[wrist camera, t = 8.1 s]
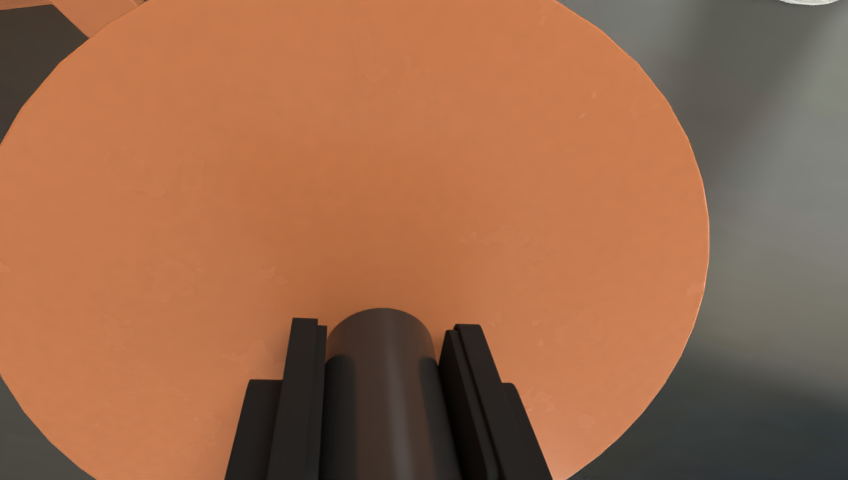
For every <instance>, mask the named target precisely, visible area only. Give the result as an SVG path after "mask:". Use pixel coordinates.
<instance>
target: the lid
mask: <svg viewBox="0 0 848 480" xmlns="http://www.w3.org/2000/svg"><path fill="white" fill-rule="evenodd" d="M708 263H709V215H708V209H707V203H706V197H705V191H704V185H703V180H702V177H701V174H700V171H699V168H698V165H697V162H696V159H695V156H694V153H693V150H692V147H691V145H690V142H689V139H688V138H687V136H686V134H685V132H684V130H683V128H682V126H681V125H680V123H679V121H678V119H677V117H676V115H675V114H674V112H673V110H672V108H671V106H670V104H669V103H668V101H667V100H666V98H665V97H664V96H663V94H662V93H661V92H660V91H659V89H658V88H657V87H656V86H655V84H654V83H653V82H652V81H651V79H650V78H649V77H648V75H647V74H646V73H645V72H644V70H643V69H642V68H641V67H640V65H639V64H638V63H637V62H636V61H635V60H634V59H633V58H632V57H630V56H629V55H628V54H627V53H626V52H625V51H624V50H623V49H622V48H621V47H619V46H618V45H617V44H616V43H615V42H614V41H613V40H612V39H611V38H609V37H608V36H607V35H606V34H605V33H604V32H603V31H602V30H601V29H599V28H598V27H597V26H595V25H593V24H592V23H590V22H589V21H587V20H586V19H584V18H583V17H581V16H579V15H578V14H576V13H575V12H573V11H572V10H570V9H569V8H567V7H565V6H564V5H562V4H561V3H559V2H558V1H556V0H148V1H146V2H144V3H142V4H141V5H139V6H137V7H135V8H134V9H132V10H130V11H128V12H127V13H125V14H123V15H121V16H120V17H118V18H116V19H114V20H113V21H111V22H109V23H107V24H106V25H105V26H104V27H103V28H101V29H100V30H99V31H98V32H96V33H95V34H94V35H93V36H92V37H90V38H89V39H88V40H87V41H85V42H84V43H83V44H82V45H81V46H79V47H78V48H77V49H76V50H75V51H73V52H72V53H71V54H70V55H68V56H67V57H66V58H65V59H64V60H62V61H61V62H60V63H59V64H58V65H57V66H56V67H55V69H54V70H53V71H52V72H51V73H50V75H49V76H48V77H47V78H46V79H45V80H44V82H43V83H42V84H41V85H40V86H39V87H38V89H37V90H36V91H35V92H34V93H33V94H32V96H31V97H30V98H29V99H28V100H27V102H26V103H25V104H24V105H23V106H22V107H21V109H20V111H19V113H18V114H17V116H16V118H15V120H14V121H13V123H12V125H11V127H10V128H9V130H8V132H7V134H6V135H5V137H4V139H3V141H2V142H1V144H0V375H1V377H2V379H3V380H4V382H5V383H6V385H7V386H8V388H9V389H10V391H11V393H12V394H13V396H14V397H15V399H16V400H17V402H18V403H19V405H20V406H21V408H22V410H23V411H24V412H25V414H26V415H27V416H28V417H29V418H30V419H31V420H32V422H33V423H34V424H35V425H36V426H37V427H38V428H39V430H40V431H41V432H42V433H43V434H44V435H45V436H46V438H47V439H48V440H49V441H50V442H51V443H52V444H53V445H54V446H55V447H57V448H58V449H59V450H60V451H61V452H62V453H63V454H65V455H66V456H67V457H68V458H69V459H70V460H71V461H72V462H74V463H75V464H76V465H77V466H78V467H79V468H81V469H82V470H83V471H85V472H86V473H88V474H89V475H91V476H92V477H94V478H95V479H96V480H224V478H225V474H226V470H227V466H228V462H229V458H230V454H231V450H232V446H233V442H234V438H235V434H236V430H237V425H238V421H239V417H240V413H241V409H242V405H243V401H244V397H245V393H246V389H247V385H248V382H249V380H250V379H274V380H283V373H284V367H285V361H286V355H287V349H288V343H289V337H290V330H291V324H292V319H293V318H318V325H327V342H326V358H325V374H324V391H323V407H322V423H321V440H320V456H319V472H318V480H463V477H462V472H461V468H460V463H459V459H458V454H457V450H456V445H455V441H454V436H453V432H452V427H451V423H450V418H449V414H448V409H447V405H446V401H445V396H444V392H443V387H442V383H441V378H440V374H439V369H438V363H439V359H440V354H441V350H442V345H443V340H444V336H445V332H446V330H453V328H454V325H455V324H479V325H480V326H481V327H482V330H483V333H484V335H485V338H486V341H487V343H488V346H489V349H490V352H491V354H492V357H493V360H494V362H495V365H496V368H497V371H498V373H499V376H500V379H501V381H502V383H513V384H514V385H515V387H516V389H517V390H518V393H519V395H520V398H521V400H522V403H523V405H524V408H525V410H526V413H527V415H528V418H529V420H530V423H531V425H532V428H533V430H534V433H535V435H536V438H537V441H538V443H539V446H540V448H541V451H542V453H543V456H544V458H545V461H546V463H547V466H548V468H549V471H550V473H551V476H552V478H553V480H566V479H567V478H569V477H571V476H572V475H573V474H575V473H576V472H577V471H579V470H580V469H582V468H583V467H584V466H586V465H587V464H588V463H590V462H591V461H592V460H594V459H595V458H596V457H598V456H599V455H600V454H601V453H602V452H603V451H604V450H606V449H607V448H608V447H609V446H610V445H611V444H612V443H614V442H615V441H616V440H617V439H618V438H619V437H620V436H621V435H622V434H623V433H624V432H625V431H626V430H627V429H628V428H629V427H630V426H631V425H632V424H633V423H634V421H635V420H636V419H637V418H638V417H639V416H640V415H641V414H642V413H643V412H644V410H645V409H646V408H647V406H648V405H649V404H650V403H651V401H652V400H653V399H654V397H655V396H656V395H657V393H658V392H659V391H660V389H661V388H662V387H663V385H664V384H665V382H666V380H667V379H668V377H669V375H670V374H671V372H672V370H673V369H674V367H675V365H676V364H677V362H678V360H679V359H680V357H681V354H682V352H683V350H684V348H685V345H686V343H687V341H688V339H689V336H690V334H691V332H692V330H693V327H694V325H695V322H696V318H697V315H698V311H699V308H700V305H701V301H702V298H703V294H704V290H705V283H706V276H707V269H708Z"/></svg>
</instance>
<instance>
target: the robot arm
mask: <svg viewBox="0 0 848 480" xmlns="http://www.w3.org/2000/svg"><path fill="white" fill-rule="evenodd" d="M780 1H784V2H787V3H790V4H803V5H821V4H829V3H832V2H835V1H839V0H780ZM326 342H327V325H318V318H293V319H292V324H291V330H290V337H289V343H288V349H287V355H286V361H285V367H284V373H283V380H274V379H250V380H249V382H248V385H247V389H246V393H245V397H244V401H243V405H242V409H241V413H240V417H239V421H238V425H237V430H236V434H235V438H234V442H233V446H232V450H231V454H230V458H229V462H228V466H227V470H226V474H225V478H224V480H318V472H319V456H320V440H321V423H322V407H323V391H324V374H325V358H326ZM438 369H439V374H440V378H441V383H442V387H443V392H444V396H445V401H446V405H447V409H448V414H449V418H450V423H451V427H452V432H453V436H454V441H455V445H456V450H457V454H458V459H459V463H460V468H461V472H462V477H463V480H553V478H552V476H551V473H550V471H549V468H548V466H547V463H546V461H545V458H544V456H543V453H542V451H541V448H540V446H539V443H538V441H537V438H536V435H535V433H534V430H533V428H532V425H531V423H530V420H529V418H528V415H527V413H526V410H525V408H524V405H523V403H522V400H521V398H520V395H519V393H518V390H517V389H516V387H515V385H514V384H513V383H502V381H501V379H500V376H499V373H498V371H497V368H496V365H495V362H494V360H493V357H492V354H491V352H490V349H489V346H488V343H487V341H486V338H485V335H484V333H483V330H482V327H481V326H480V325H479V324H455V325H454V328H453V330H446V332H445V336H444V340H443V345H442V350H441V354H440V359H439V363H438Z"/></svg>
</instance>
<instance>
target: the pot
mask: <svg viewBox="0 0 848 480" xmlns="http://www.w3.org/2000/svg"><path fill="white" fill-rule="evenodd" d="M142 3H144V1H143V0H0V10H5V9H14V8H23V7H31V6H40V5H49V4H53V5H54V6H55V7H56V8H57V9H58V10H59V11H60V12H61V13H62V14H63V15H65V16H66V17H67V18H68V19H69V20H70V21H71V22H72V23H73V24H74V25H75V26H76V27H77V28H78V29H79V30H81V31H82V32H83V33H84V34H85V35H86V36H87V37H88V38H90V37H92V36H93V35H94V34H95V33H96V32H98V31H99V30H100V29H101V28H103V27H104V26H105V25H106V24H107V23H109V22H111V21H113V20H114V19H116V18H118V17H120V16H121V15H123V14H125V13H127V12H128V11H130V10H132V9H134V8H135V7H137V6H139V5H141V4H142Z"/></svg>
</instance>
